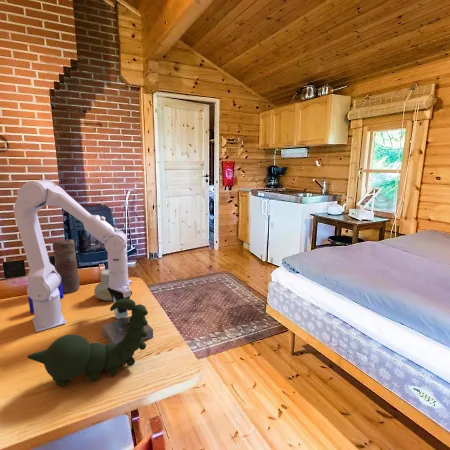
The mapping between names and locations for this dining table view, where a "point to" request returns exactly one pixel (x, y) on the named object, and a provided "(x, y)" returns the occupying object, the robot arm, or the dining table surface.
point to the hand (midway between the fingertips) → (120, 309)
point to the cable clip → (32, 300)
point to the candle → (66, 265)
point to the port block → (121, 330)
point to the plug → (116, 312)
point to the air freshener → (103, 287)
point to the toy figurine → (94, 350)
